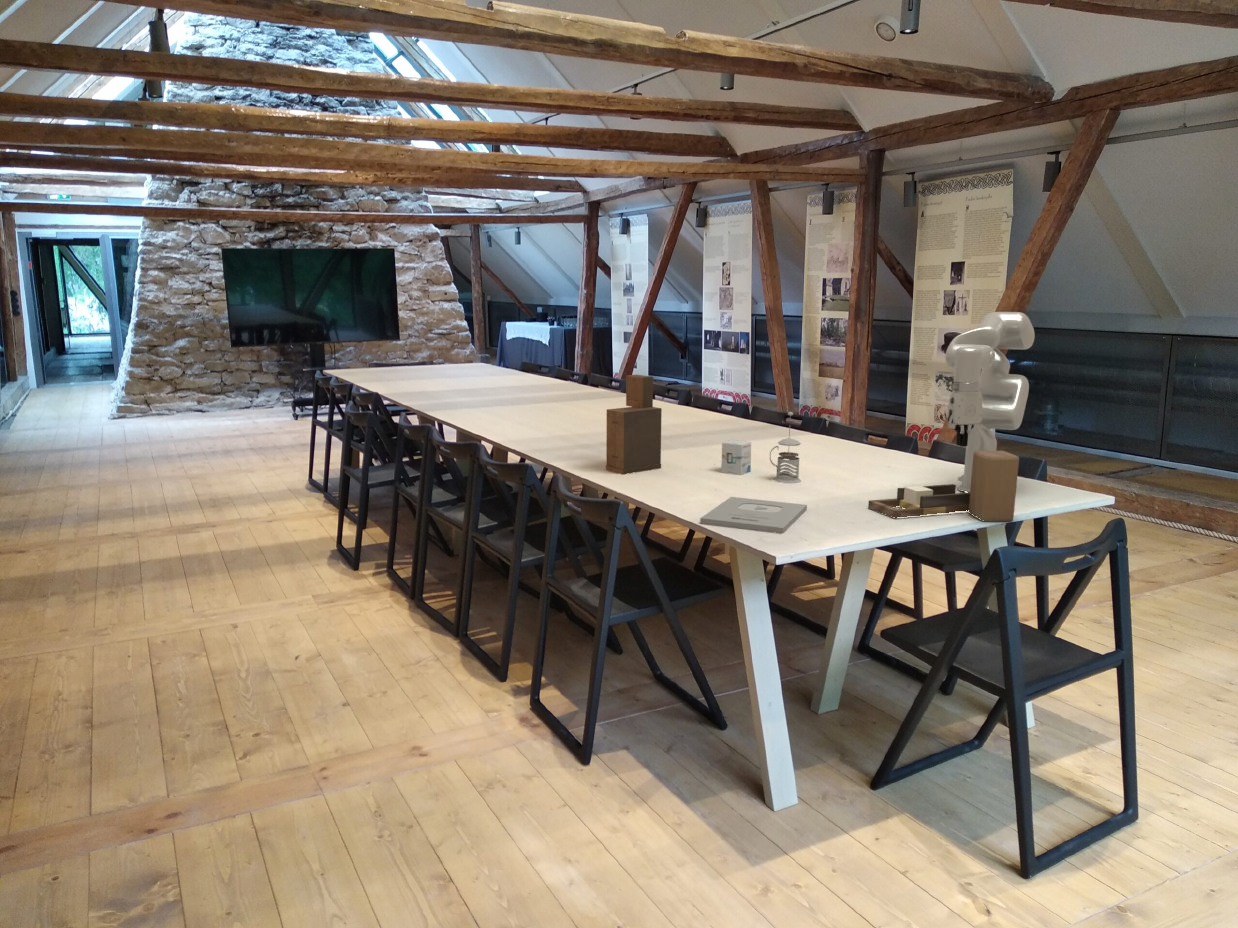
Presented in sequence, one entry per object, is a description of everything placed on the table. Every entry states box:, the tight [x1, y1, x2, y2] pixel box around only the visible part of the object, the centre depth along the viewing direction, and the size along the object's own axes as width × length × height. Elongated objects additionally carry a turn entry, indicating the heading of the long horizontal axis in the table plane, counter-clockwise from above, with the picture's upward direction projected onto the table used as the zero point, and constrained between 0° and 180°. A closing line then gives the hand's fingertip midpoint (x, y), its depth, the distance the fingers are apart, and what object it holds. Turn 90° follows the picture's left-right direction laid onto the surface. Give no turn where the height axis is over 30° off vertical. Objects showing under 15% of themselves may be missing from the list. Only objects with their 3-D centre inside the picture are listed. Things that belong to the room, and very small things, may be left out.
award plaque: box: [699, 496, 808, 534], centre depth 261 cm, size 25×30×2 cm
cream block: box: [904, 485, 933, 505], centre depth 268 cm, size 6×6×4 cm
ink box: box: [720, 439, 752, 476], centre depth 324 cm, size 8×8×12 cm
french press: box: [769, 411, 802, 484], centre depth 310 cm, size 10×12×25 cm
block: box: [969, 450, 1020, 522], centre depth 259 cm, size 10×10×20 cm
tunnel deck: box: [867, 483, 970, 518], centre depth 270 cm, size 14×35×6 cm, turn 108°
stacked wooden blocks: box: [605, 374, 662, 475], centre depth 328 cm, size 19×14×35 cm
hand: (961, 445), depth 270 cm, fingers closed
